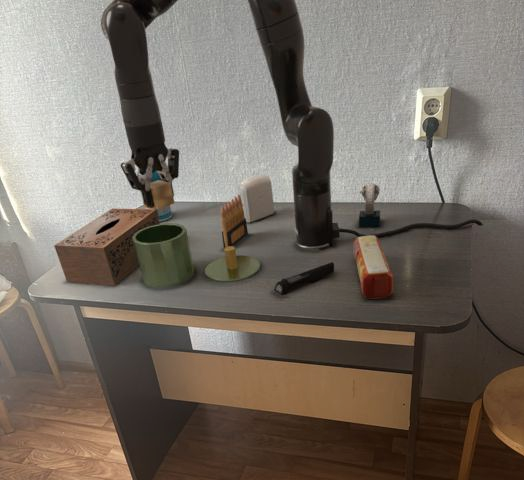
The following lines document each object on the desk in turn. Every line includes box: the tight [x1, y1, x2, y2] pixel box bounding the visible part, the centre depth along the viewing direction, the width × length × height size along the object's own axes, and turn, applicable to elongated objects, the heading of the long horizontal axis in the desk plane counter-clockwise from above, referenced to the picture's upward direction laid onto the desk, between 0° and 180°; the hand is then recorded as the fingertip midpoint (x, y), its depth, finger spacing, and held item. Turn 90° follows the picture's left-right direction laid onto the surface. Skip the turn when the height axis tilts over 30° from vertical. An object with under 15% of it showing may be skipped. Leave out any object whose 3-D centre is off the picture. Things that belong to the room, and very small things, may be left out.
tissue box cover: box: [53, 207, 161, 287], centre depth 135 cm, size 26×14×10 cm, turn 161°
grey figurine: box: [358, 182, 381, 229], centre depth 139 cm, size 6×8×11 cm
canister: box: [132, 222, 195, 288], centre depth 124 cm, size 13×13×12 cm
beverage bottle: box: [136, 171, 173, 223], centre depth 158 cm, size 8×8×20 cm
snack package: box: [353, 234, 394, 300], centre depth 114 cm, size 21×7×7 cm, turn 177°
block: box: [146, 180, 175, 209], centre depth 113 cm, size 4×4×4 cm
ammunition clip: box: [220, 193, 249, 249], centre depth 137 cm, size 11×2×12 cm, turn 153°
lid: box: [204, 246, 261, 283], centre depth 124 cm, size 14×14×6 cm
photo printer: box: [238, 174, 275, 223], centre depth 152 cm, size 10×4×12 cm, turn 127°
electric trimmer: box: [274, 261, 335, 296], centre depth 116 cm, size 4×16×3 cm, turn 121°
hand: (160, 202), depth 114 cm, fingers closed on block, 4 cm apart
